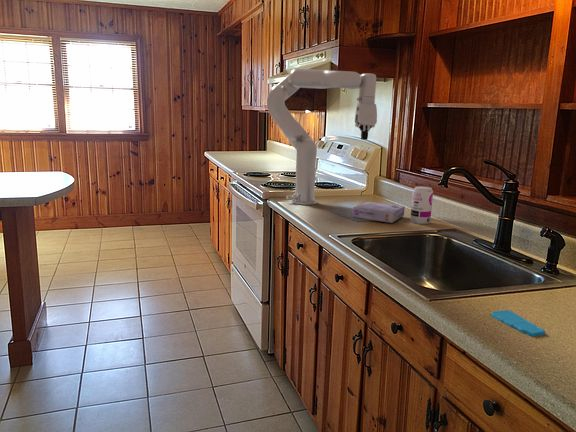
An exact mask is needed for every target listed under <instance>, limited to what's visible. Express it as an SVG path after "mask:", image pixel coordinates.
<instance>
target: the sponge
mask: <svg viewBox="0 0 576 432" xmlns="http://www.w3.org/2000/svg"><path fill="white" fill-rule="evenodd" d="M490 315H491V318H493V319H495V320H497V319H498V320H497V321H499V322H501V323H503V324H505V325H507V326H508V327H510V328H511V327H512V328H513V329H515V330H517V331H518V332H520V333H522V332H523V333H522V334H525V333H526V335H527V334H528V335H527V336H530V337H532V338H533V337H534V336H535V337H539V336H538V335H541V336H545V335H546V330H544V328H541V327H538V326H537V325H536V324H534V323H532V322H531V321H529V320H527V319H525V318H523V317H522V316H520V315H518V314H516V313H515V312H513V311H512V310H505V309H503V310H497V311H492V312H491V313H490ZM535 337H534V338H535Z"/></svg>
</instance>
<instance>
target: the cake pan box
mask: <svg viewBox="0 0 576 432" xmlns="http://www.w3.org/2000/svg"><path fill="white" fill-rule="evenodd" d="M352 209H353V216H352V217H356V218H362V219H369V220H375V221H377V222H381V223H382V222H384V223H390V224H393V223H395V222H396V221H397V220H399V219H401V218H402V217H404V215H405V206H403V205H398V204H397V205H396V204H390V203H383V202H381V203H380V202H373V201H366V202H363V203H361V204H358V205H356V206H353V207H352Z"/></svg>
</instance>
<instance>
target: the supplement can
mask: <svg viewBox="0 0 576 432" xmlns="http://www.w3.org/2000/svg"><path fill="white" fill-rule="evenodd" d="M433 198H434V191H433V188H432V187H430V186H424V185H422V186H414V188H413V190H412V196H411V207H410V210H411V211H410V219H409V220H410V221H411V222H412V223H414V224H416V225H417V224H418V225H427V224H429V223H430V222H431V218H432V208H433Z"/></svg>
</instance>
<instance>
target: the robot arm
mask: <svg viewBox="0 0 576 432" xmlns="http://www.w3.org/2000/svg"><path fill="white" fill-rule="evenodd" d="M376 86H377V74H374V73H369V72H368V73H361V74H360V73H358V72H356V71H348V70H347V71H346V70H328V69H314V68H313V69H312V68H310V69H309V68H308V69H307V68H294V69H292V70H291V71H290V72H289V73H288V75H286V76H285V77H284V78H283V79H282V80H281V81H280V82H279V83H277V84H275V85H273V86H272V87H271V88H270V89H269V92H268V95H267V96H266V97H267V98H266V107H267V108H266V109H267V112H268V114H269V116H270V117H271V119H272V120H273V121H274V123H275V124H276V125H277V127H278V128H279V129H280V130H281V132H282V133H283V135H284V137H285V139H287V140H288V141H289V143H290V144H291V145H292V146H293V148H294V149H295V151H296V163H295V164H296V165H295V188H294V189H295V190H294V192H293V194H292V195H290V194H289V195H288V194H287V195H286V196H285V198H286V200H291V203H293V204H296V205H305V206H310V205H316V204H317V203H318V200H317V199H315V190H316V167H317V166H316V165H317V152H318V151H317V144H316V142H315V141H314V140H313V138H312V137H311V136H310V135H309V134H308V133H307V131H306V130H305V128H304V127H303V126H302V124H301V123H300V122H299V121H297V120H296V118H295V117H294V116H293V114H292V113H291V111H289V109H288V107H287V106H286V103H285V102H286V100H288V99H289V98H290V97H291V96H292V95H294V94H295V93H296V92H297V91H299V89H300V88H301V89H302V88H303V89H318V90H319V89H320V90H321V89H325V90H326V89H333V88H334V89H337V88H339V89H349V90H357V89H359V94H358V97H357V98H356V101H358V103H357V105H356V109H355V114H354V115H355V116H354V126H355V128H358V129H359V130H360V139H361V140H364V141H365V140H366V141H367V140H368V139H369V132H370V131H371V129H372V128H375V127H376V125H377V121H378V111H377V110H378V109H377V103H376V102H375V101H376V89H377V87H376Z"/></svg>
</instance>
